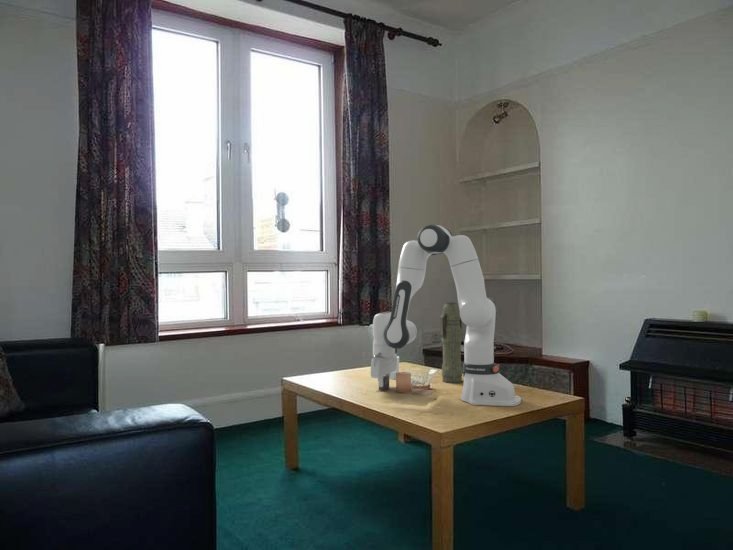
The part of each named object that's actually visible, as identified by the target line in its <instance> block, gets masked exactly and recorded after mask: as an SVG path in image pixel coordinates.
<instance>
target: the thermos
mask: <svg viewBox="0 0 733 550" xmlns="http://www.w3.org/2000/svg"><path fill="white" fill-rule="evenodd" d="M439 323H440V324H439V326H440V329H439V332H440V333H439V335H440V337H441V343H442V365H441V376H442V380H441V381H442V382H443V383H446V384H458V383H460V384H461V383H462V382H463V378H462V377H463V364H462V352H461V349H462V346H461V344H462V341H463V340H462V339H463V338H462V336H463V322H462V320H461V318H460V310H459V304H458V303H457V302H445V303H443V307H442V314H441V315H440V318H439Z"/></svg>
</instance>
